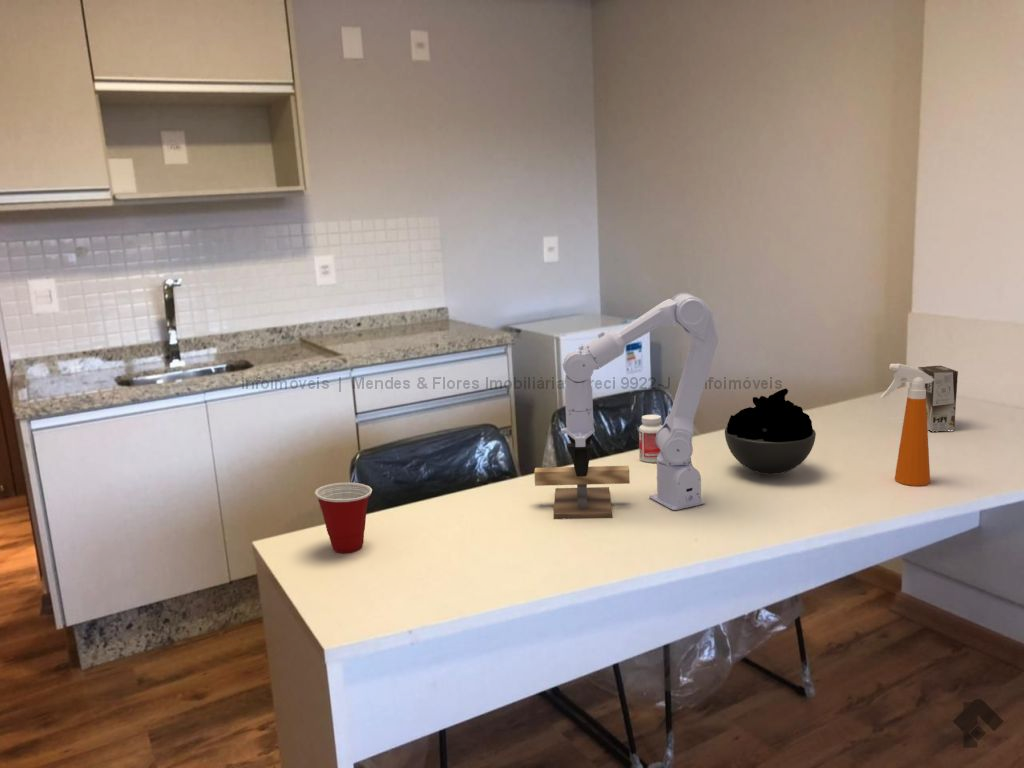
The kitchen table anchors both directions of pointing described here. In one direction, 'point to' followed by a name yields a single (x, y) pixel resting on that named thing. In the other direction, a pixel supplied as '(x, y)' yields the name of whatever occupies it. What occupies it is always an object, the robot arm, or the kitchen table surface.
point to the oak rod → (593, 476)
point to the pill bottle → (649, 438)
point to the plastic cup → (344, 514)
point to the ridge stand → (582, 502)
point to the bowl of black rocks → (770, 435)
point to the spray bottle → (912, 427)
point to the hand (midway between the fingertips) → (581, 470)
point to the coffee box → (940, 397)
